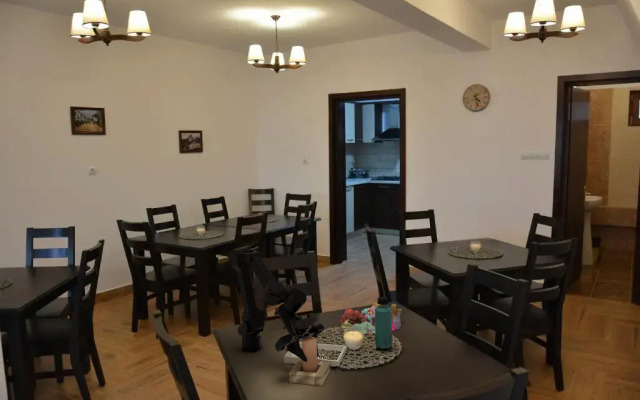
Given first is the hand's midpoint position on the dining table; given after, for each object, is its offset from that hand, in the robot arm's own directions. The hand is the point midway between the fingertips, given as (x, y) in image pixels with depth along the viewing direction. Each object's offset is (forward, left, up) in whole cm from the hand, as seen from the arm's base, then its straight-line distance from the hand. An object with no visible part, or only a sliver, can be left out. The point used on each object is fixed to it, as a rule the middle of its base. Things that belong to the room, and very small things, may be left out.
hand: (312, 359), depth 170 cm
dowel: (-1, +1, -7) cm, 7 cm away
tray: (-3, +16, -7) cm, 17 cm away
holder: (-1, +1, -7) cm, 7 cm away
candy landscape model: (+12, +53, -7) cm, 54 cm away
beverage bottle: (+20, +29, -7) cm, 36 cm away
